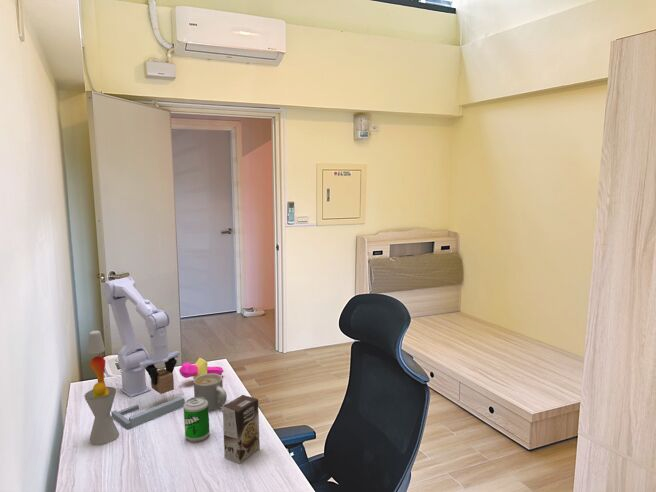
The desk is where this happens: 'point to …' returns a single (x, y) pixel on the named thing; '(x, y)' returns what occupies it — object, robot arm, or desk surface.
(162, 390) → the cardboard box
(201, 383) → the coffee mug
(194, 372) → the toy
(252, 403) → the coffee box
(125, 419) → the grey j-shaped hook
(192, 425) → the soda can
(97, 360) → the lava lamp
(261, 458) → the desk surface
